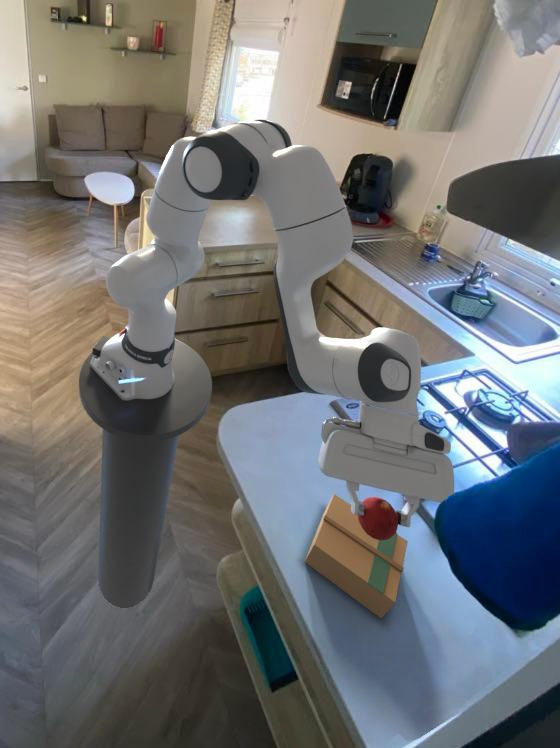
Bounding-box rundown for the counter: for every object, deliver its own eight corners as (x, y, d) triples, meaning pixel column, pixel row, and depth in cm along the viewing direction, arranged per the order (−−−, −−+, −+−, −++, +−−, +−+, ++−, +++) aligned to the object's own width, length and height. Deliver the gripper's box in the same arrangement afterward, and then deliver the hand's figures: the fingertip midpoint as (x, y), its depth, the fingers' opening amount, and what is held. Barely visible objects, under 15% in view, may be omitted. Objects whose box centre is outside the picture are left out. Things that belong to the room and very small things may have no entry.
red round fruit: (383, 516, 72) (401, 490, 67) (391, 553, 67) (412, 527, 63) (348, 508, 72) (364, 481, 68) (354, 544, 67) (372, 517, 63)
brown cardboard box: (303, 562, 73) (313, 543, 70) (324, 510, 82) (333, 492, 78) (381, 620, 67) (396, 603, 64) (395, 558, 76) (409, 540, 72)
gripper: (329, 416, 68) (318, 509, 65) (461, 445, 66) (458, 543, 62) (318, 412, 74) (308, 497, 71) (439, 439, 72) (435, 528, 69)
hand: (380, 519), depth 67 cm, fingers closed on red round fruit, 5 cm apart
